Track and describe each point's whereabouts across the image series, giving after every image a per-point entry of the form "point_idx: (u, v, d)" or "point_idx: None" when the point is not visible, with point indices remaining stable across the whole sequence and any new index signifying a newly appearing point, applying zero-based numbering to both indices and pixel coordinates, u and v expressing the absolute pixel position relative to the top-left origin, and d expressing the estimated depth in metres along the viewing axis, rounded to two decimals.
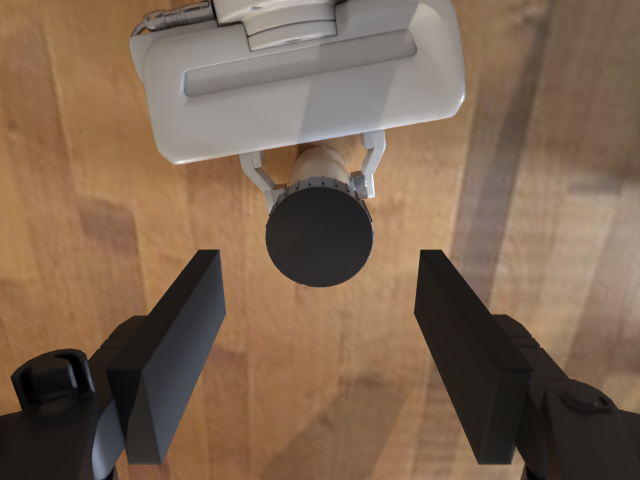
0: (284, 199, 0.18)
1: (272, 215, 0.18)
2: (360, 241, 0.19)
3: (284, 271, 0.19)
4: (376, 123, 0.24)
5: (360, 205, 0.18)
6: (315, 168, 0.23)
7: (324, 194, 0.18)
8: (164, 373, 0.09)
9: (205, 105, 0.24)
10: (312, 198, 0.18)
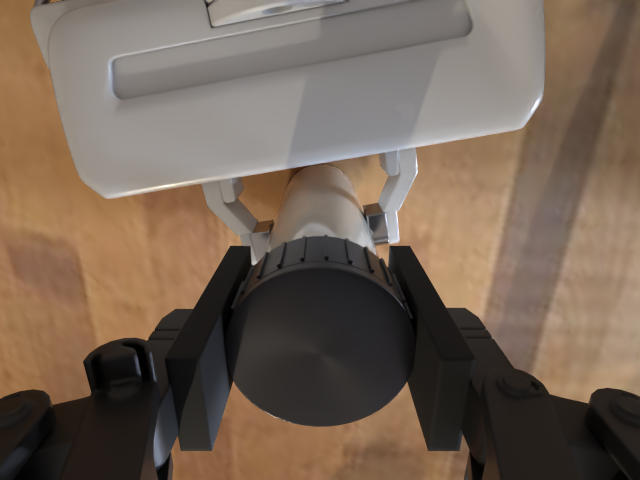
0: (255, 288, 0.10)
1: (234, 315, 0.10)
2: (393, 357, 0.10)
3: (259, 403, 0.11)
4: (406, 139, 0.16)
5: (395, 299, 0.10)
6: (313, 209, 0.15)
7: (329, 280, 0.10)
8: (214, 362, 0.09)
9: (145, 111, 0.16)
10: (307, 287, 0.10)
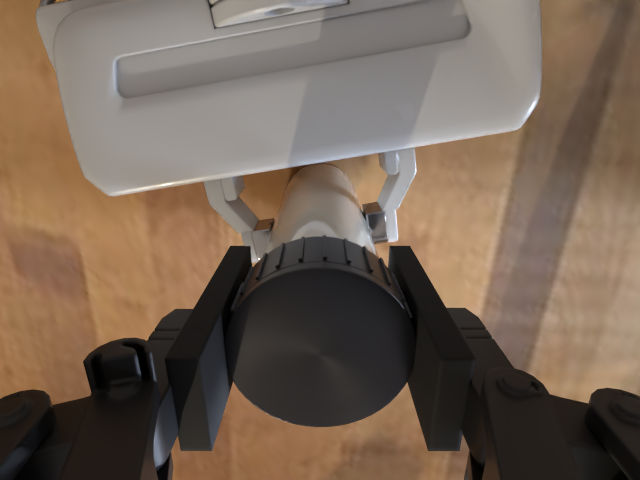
0: (259, 407, 0.11)
1: (289, 421, 0.11)
2: (313, 290, 0.10)
3: (387, 398, 0.11)
4: (405, 139, 0.16)
5: (243, 301, 0.10)
6: (314, 207, 0.15)
7: (237, 357, 0.10)
8: (214, 363, 0.09)
9: (148, 110, 0.16)
10: (248, 372, 0.11)
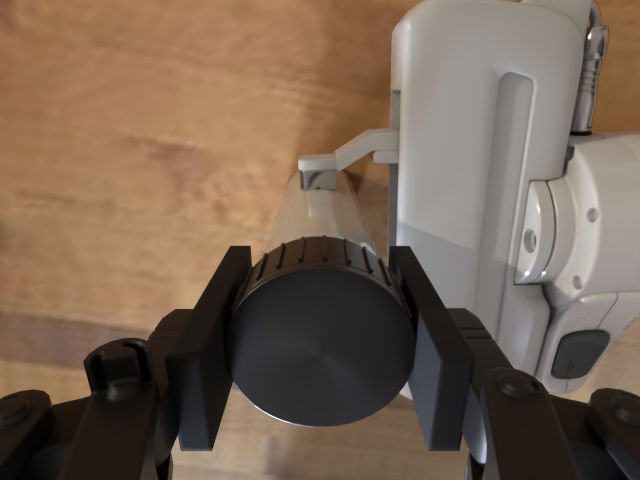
0: (259, 407, 0.11)
1: (289, 421, 0.11)
2: (313, 290, 0.10)
3: (387, 398, 0.11)
4: None
5: (243, 301, 0.10)
6: None
7: (237, 357, 0.10)
8: (214, 363, 0.09)
9: (483, 101, 0.16)
10: (248, 372, 0.11)
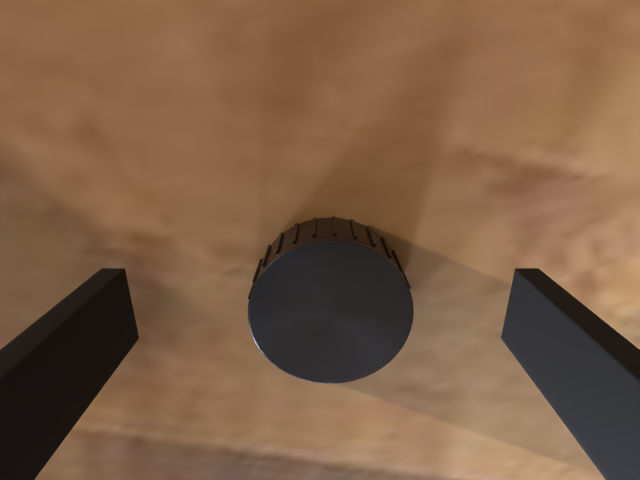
0: (277, 366, 0.13)
1: (303, 378, 0.13)
2: (325, 261, 0.11)
3: (388, 357, 0.13)
4: None
5: (265, 270, 0.12)
6: None
7: (259, 320, 0.12)
8: None
9: None
10: (268, 334, 0.12)
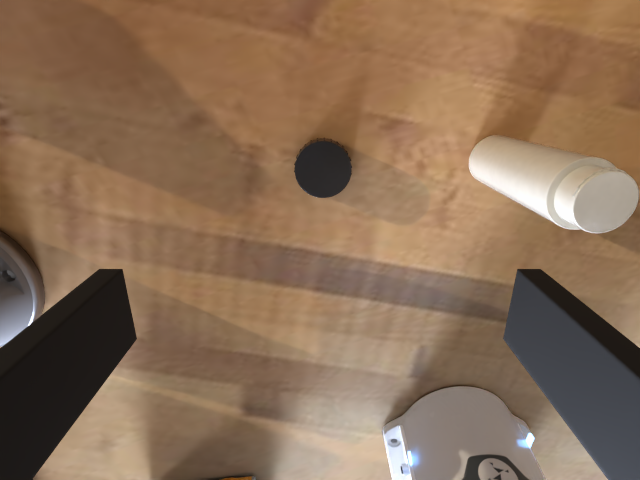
0: (304, 190, 0.36)
1: (313, 195, 0.36)
2: (321, 148, 0.35)
3: (343, 186, 0.36)
4: None
5: (301, 152, 0.35)
6: None
7: (298, 171, 0.36)
8: None
9: None
10: (301, 176, 0.36)
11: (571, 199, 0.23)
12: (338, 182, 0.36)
